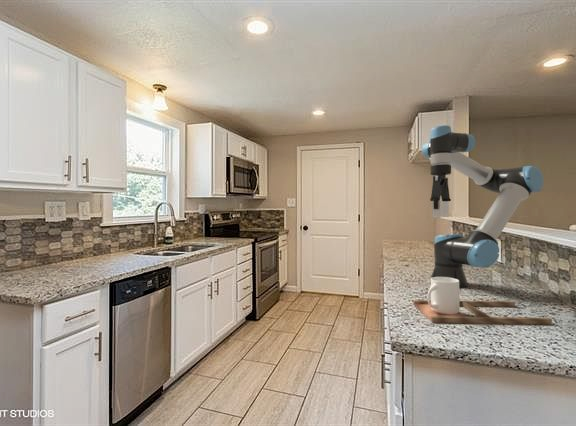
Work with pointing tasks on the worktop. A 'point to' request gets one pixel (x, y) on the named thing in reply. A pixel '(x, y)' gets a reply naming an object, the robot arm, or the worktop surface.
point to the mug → (444, 295)
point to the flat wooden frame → (482, 317)
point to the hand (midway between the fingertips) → (441, 217)
